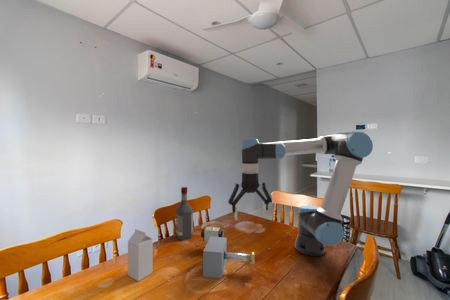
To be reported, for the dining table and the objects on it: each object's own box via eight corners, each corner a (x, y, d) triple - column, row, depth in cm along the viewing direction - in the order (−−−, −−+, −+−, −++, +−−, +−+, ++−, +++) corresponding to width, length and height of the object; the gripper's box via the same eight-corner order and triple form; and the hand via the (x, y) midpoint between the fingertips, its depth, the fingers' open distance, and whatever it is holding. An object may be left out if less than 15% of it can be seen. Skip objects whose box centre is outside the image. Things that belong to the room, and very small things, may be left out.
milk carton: (138, 282, 84) (138, 235, 84) (127, 276, 88) (127, 231, 87) (152, 272, 90) (152, 229, 90) (142, 267, 94) (142, 226, 93)
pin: (254, 260, 94) (254, 250, 94) (254, 266, 89) (254, 255, 89) (220, 257, 96) (220, 247, 96) (218, 263, 91) (219, 252, 91)
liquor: (188, 232, 132) (188, 185, 131) (194, 237, 124) (194, 188, 123) (174, 235, 127) (174, 187, 126) (179, 241, 119) (179, 189, 119)
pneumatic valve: (222, 252, 108) (222, 229, 108) (200, 249, 110) (200, 227, 110) (224, 247, 113) (224, 225, 113) (203, 244, 116) (203, 223, 115)
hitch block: (226, 260, 101) (226, 237, 100) (221, 278, 87) (221, 252, 86) (210, 258, 102) (210, 236, 101) (203, 276, 88) (203, 250, 88)
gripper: (272, 170, 101) (272, 213, 101) (221, 172, 96) (222, 217, 97) (279, 172, 93) (279, 219, 94) (224, 174, 89) (225, 223, 89)
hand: (250, 218), depth 95 cm, fingers open, 13 cm apart
